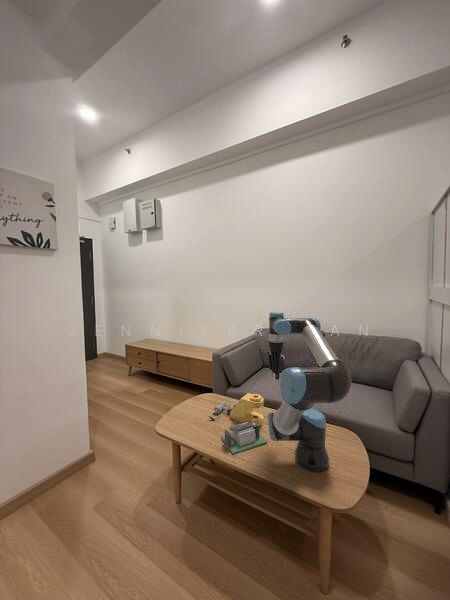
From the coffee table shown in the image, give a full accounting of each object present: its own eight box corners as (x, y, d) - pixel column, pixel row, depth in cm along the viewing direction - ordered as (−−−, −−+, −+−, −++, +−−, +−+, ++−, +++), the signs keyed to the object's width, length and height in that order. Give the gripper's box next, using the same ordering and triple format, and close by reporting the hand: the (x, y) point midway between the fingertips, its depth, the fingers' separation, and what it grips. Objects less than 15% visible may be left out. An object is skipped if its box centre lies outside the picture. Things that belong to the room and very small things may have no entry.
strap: (252, 423, 134) (252, 421, 134) (256, 427, 131) (256, 425, 131) (228, 428, 128) (228, 425, 128) (231, 432, 124) (232, 429, 124)
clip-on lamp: (221, 429, 146) (237, 410, 160) (221, 420, 144) (236, 401, 158) (205, 421, 152) (222, 403, 166) (205, 412, 150) (221, 395, 165)
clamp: (266, 421, 149) (266, 395, 148) (258, 428, 141) (259, 401, 140) (238, 411, 160) (238, 387, 159) (230, 417, 153) (230, 392, 152)
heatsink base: (252, 428, 141) (252, 416, 140) (267, 443, 128) (267, 429, 128) (221, 438, 132) (221, 424, 132) (232, 454, 120) (232, 439, 119)
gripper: (290, 342, 127) (289, 387, 128) (273, 338, 138) (273, 379, 139) (278, 344, 123) (278, 390, 124) (263, 339, 135) (262, 381, 136)
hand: (275, 384), depth 132 cm, fingers closed
